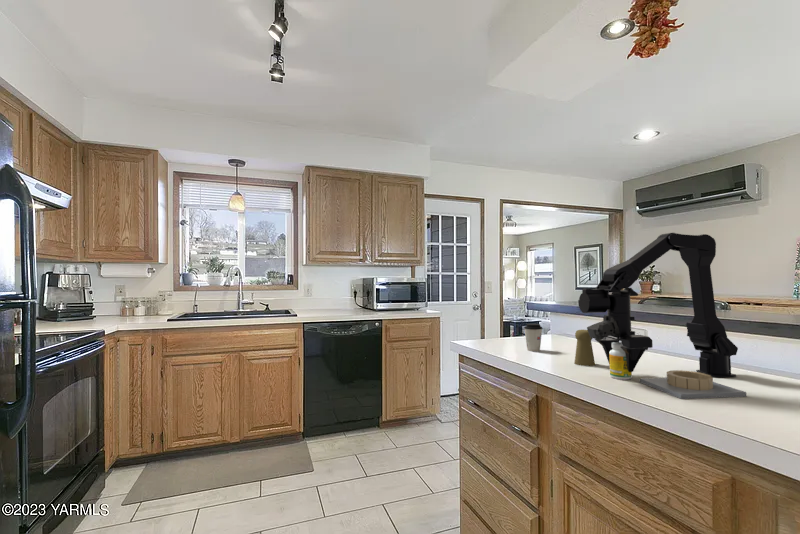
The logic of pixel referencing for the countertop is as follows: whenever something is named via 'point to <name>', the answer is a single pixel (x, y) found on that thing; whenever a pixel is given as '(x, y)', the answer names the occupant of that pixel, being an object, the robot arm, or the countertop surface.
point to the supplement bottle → (618, 362)
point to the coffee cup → (533, 336)
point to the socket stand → (691, 385)
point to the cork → (584, 349)
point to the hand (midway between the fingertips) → (620, 368)
